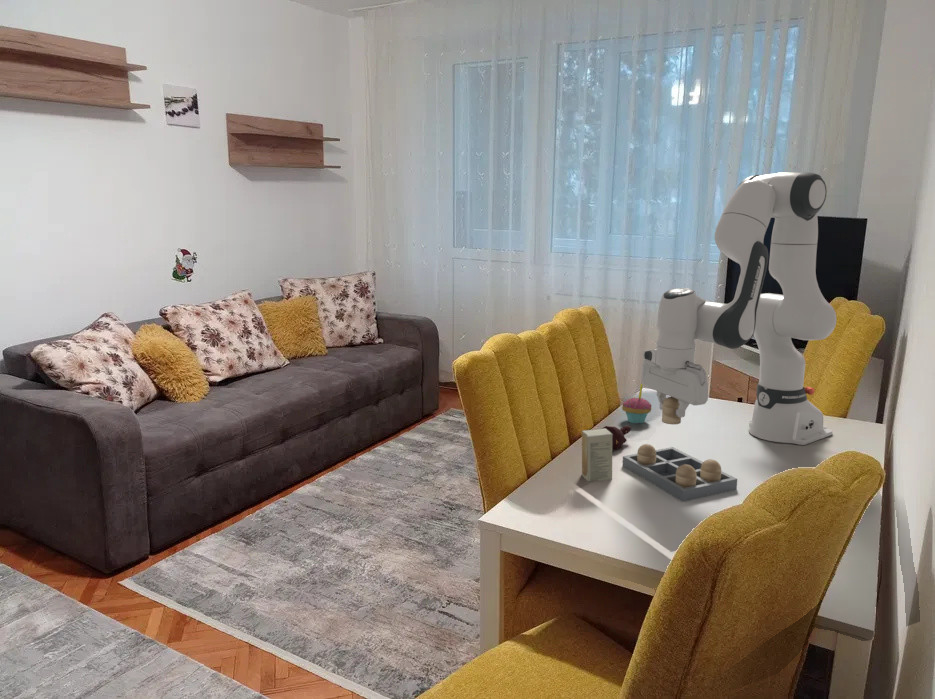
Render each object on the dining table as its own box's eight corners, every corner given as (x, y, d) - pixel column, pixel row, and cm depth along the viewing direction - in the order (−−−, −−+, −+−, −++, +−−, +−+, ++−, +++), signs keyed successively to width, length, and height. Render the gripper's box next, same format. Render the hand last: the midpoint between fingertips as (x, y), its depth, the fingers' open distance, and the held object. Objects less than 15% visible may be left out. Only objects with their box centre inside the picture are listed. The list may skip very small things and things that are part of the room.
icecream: (605, 438, 169) (642, 430, 178) (584, 424, 174) (621, 417, 183) (598, 462, 171) (634, 452, 180) (577, 447, 176) (614, 439, 185)
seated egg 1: (647, 464, 165) (649, 440, 164) (659, 470, 162) (660, 446, 160) (633, 467, 164) (634, 443, 163) (644, 473, 160) (645, 449, 159)
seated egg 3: (710, 480, 155) (712, 455, 154) (724, 487, 151) (726, 461, 150) (695, 483, 154) (697, 458, 152) (709, 491, 150) (710, 465, 148)
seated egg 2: (686, 485, 153) (687, 460, 151) (699, 493, 149) (701, 466, 148) (670, 489, 151) (672, 463, 150) (684, 496, 147) (685, 470, 146)
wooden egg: (672, 417, 166) (673, 393, 164) (684, 423, 162) (686, 398, 160) (657, 420, 164) (659, 395, 163) (669, 425, 160) (671, 400, 159)
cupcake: (632, 415, 207) (634, 377, 204) (656, 421, 200) (658, 382, 198) (616, 421, 201) (617, 382, 198) (640, 428, 195) (642, 388, 192)
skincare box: (605, 476, 161) (607, 427, 159) (612, 483, 157) (614, 433, 155) (580, 478, 160) (581, 429, 158) (586, 485, 156) (587, 435, 154)
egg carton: (671, 459, 171) (672, 446, 170) (736, 493, 151) (737, 478, 150) (622, 469, 165) (622, 456, 164) (682, 505, 145) (683, 490, 144)
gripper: (716, 365, 151) (712, 423, 154) (658, 348, 170) (656, 400, 173) (694, 368, 149) (690, 427, 152) (638, 350, 167) (635, 403, 170)
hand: (671, 413), depth 162 cm, fingers closed on wooden egg, 4 cm apart
